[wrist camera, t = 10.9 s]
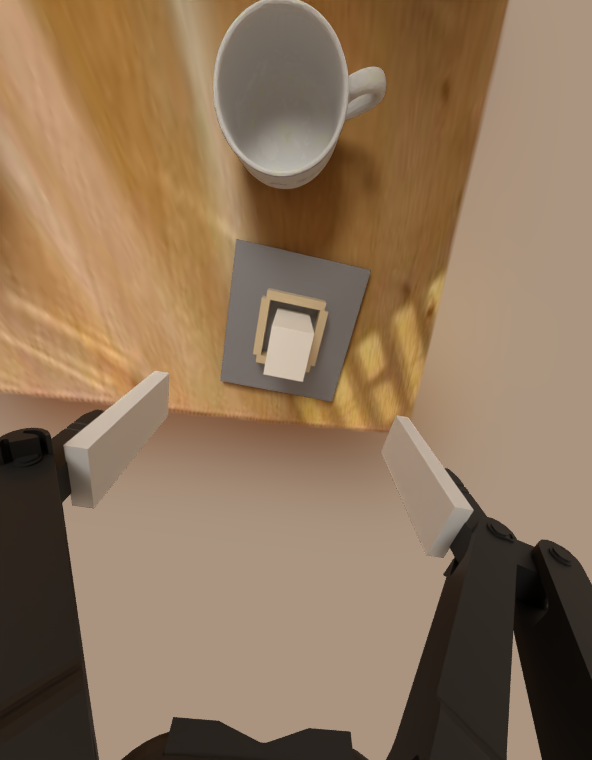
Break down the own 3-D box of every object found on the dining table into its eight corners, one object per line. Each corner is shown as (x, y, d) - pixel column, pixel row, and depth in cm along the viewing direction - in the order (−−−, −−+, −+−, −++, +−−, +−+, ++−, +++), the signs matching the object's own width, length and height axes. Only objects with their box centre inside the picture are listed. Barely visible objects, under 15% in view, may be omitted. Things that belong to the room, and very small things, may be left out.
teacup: (234, 193, 31) (216, 173, 24) (229, 58, 27) (204, -17, 19) (360, 199, 31) (380, 181, 24) (374, 66, 27) (404, -4, 20)
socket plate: (238, 239, 33) (232, 237, 30) (368, 269, 34) (375, 270, 32) (222, 377, 40) (216, 386, 37) (331, 398, 41) (333, 408, 39)
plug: (277, 307, 35) (272, 325, 26) (309, 314, 35) (314, 333, 26) (271, 345, 37) (263, 374, 28) (300, 351, 37) (302, 381, 28)
